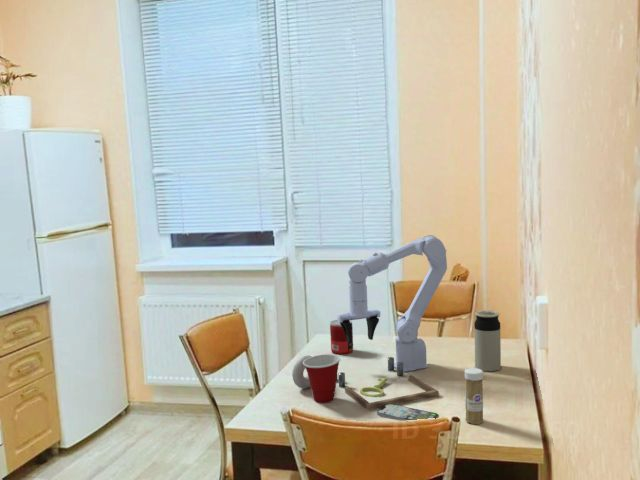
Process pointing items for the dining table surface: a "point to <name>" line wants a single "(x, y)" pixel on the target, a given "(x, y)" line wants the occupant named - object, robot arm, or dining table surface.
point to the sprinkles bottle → (474, 395)
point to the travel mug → (487, 341)
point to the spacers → (390, 368)
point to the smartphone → (404, 413)
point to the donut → (300, 373)
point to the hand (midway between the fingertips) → (359, 340)
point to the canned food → (340, 339)
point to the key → (374, 388)
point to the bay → (399, 400)
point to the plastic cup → (322, 376)
